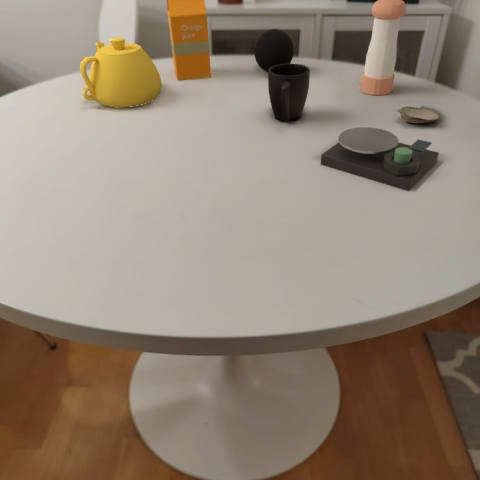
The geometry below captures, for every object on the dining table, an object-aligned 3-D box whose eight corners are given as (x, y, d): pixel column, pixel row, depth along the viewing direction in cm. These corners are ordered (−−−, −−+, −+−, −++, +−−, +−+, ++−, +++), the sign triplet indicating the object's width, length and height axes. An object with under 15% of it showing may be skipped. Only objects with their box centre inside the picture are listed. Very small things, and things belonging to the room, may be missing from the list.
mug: (262, 131, 91) (262, 81, 85) (271, 109, 100) (271, 62, 94) (303, 133, 90) (306, 83, 84) (308, 110, 99) (311, 63, 92)
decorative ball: (295, 67, 122) (297, 25, 116) (289, 79, 115) (291, 35, 108) (258, 66, 124) (258, 24, 117) (251, 77, 117) (250, 34, 110)
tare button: (412, 160, 73) (415, 149, 72) (406, 166, 72) (408, 155, 71) (397, 155, 75) (399, 145, 73) (390, 161, 73) (392, 151, 72)
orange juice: (211, 77, 118) (205, -15, 105) (177, 80, 117) (166, -12, 104) (206, 68, 124) (199, -20, 111) (174, 71, 123) (163, -17, 109)
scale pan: (431, 143, 77) (432, 141, 76) (407, 166, 71) (407, 164, 71) (355, 125, 84) (355, 122, 83) (327, 144, 78) (327, 142, 78)
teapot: (176, 98, 107) (168, 38, 99) (101, 119, 99) (86, 55, 90) (136, 78, 119) (126, 23, 111) (67, 95, 111) (51, 37, 103)
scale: (436, 162, 79) (441, 143, 77) (407, 191, 72) (412, 171, 70) (353, 140, 87) (355, 122, 84) (320, 164, 80) (322, 145, 77)
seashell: (439, 133, 92) (421, 110, 96) (447, 120, 90) (428, 97, 94) (404, 132, 89) (387, 109, 94) (412, 119, 87) (394, 95, 91)
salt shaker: (397, 88, 107) (415, -7, 95) (382, 97, 103) (399, -2, 91) (369, 82, 111) (383, -10, 98) (354, 91, 107) (366, -5, 94)
